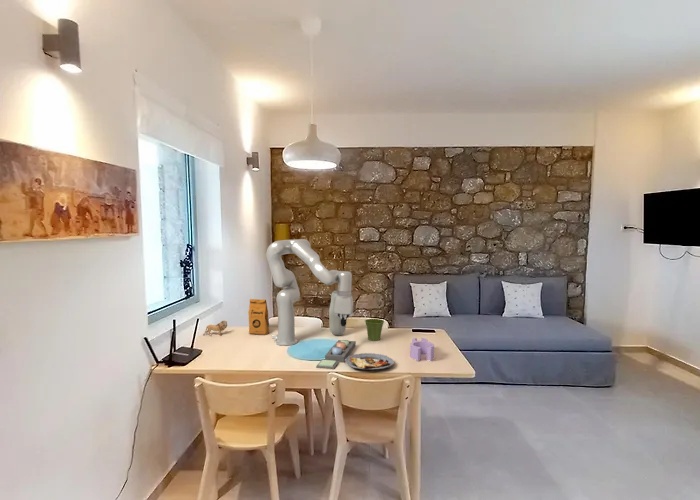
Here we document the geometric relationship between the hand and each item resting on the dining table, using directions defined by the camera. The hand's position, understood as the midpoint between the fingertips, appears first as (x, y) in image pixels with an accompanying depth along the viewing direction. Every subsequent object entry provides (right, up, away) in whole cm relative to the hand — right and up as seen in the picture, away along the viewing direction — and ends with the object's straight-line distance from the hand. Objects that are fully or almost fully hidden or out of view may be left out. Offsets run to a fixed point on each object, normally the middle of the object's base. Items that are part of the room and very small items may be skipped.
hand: (343, 325), depth 245 cm
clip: (+42, -14, -12) cm, 46 cm away
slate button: (-3, -13, -18) cm, 22 cm away
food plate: (+13, -15, -27) cm, 33 cm away
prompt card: (-8, -15, -28) cm, 33 cm away
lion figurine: (-80, -11, +26) cm, 85 cm away
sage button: (+1, -13, 0) cm, 13 cm away
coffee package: (-54, -10, +30) cm, 62 cm away
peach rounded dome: (-1, -12, -9) cm, 15 cm away
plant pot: (+18, -12, +18) cm, 28 cm away
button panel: (-1, -13, -9) cm, 16 cm away
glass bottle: (-4, -11, +27) cm, 30 cm away
